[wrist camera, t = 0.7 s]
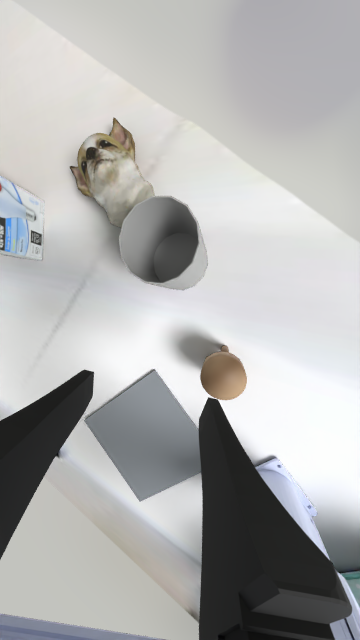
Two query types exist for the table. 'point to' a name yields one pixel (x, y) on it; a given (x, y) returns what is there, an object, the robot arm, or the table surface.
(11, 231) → the light bulb box
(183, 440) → the mat
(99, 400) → the table surface
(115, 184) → the ceramic sculpture
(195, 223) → the cup
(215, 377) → the stool
